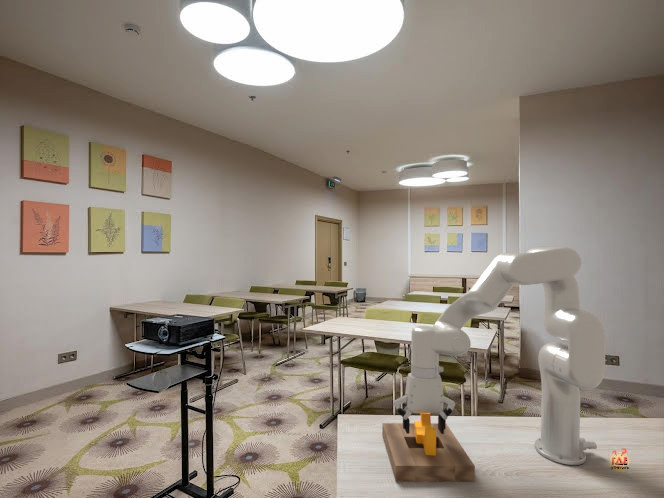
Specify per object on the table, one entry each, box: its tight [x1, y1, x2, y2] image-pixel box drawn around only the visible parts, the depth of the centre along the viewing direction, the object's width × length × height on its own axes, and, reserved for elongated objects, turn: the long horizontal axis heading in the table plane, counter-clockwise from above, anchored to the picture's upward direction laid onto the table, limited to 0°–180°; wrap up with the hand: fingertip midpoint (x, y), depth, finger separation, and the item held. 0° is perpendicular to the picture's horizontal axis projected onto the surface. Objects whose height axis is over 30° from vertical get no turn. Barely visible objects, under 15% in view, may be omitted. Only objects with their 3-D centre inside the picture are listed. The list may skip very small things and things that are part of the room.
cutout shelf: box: [381, 422, 476, 483], centre depth 103 cm, size 20×22×4 cm
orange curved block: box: [414, 413, 436, 456], centre depth 103 cm, size 12×4×6 cm, turn 173°
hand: (423, 431), depth 103 cm, fingers open, 9 cm apart
